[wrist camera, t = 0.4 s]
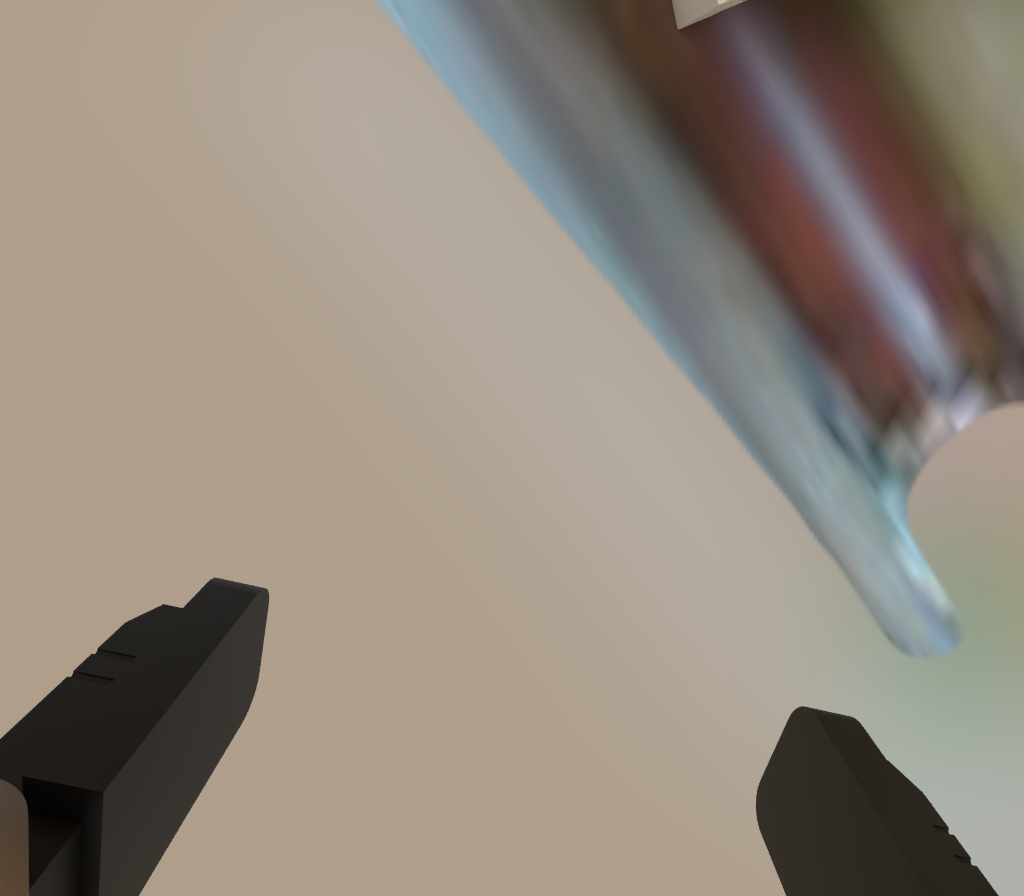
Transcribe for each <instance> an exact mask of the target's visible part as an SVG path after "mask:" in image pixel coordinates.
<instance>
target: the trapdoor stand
mask: <svg viewBox="0 0 1024 896" xmlns="http://www.w3.org/2000/svg"><path fill="white" fill-rule="evenodd" d="M744 1H746V0H672V4H673V9H674V14H675V19H676V24H677V29H678V30H679V29H682V28H684V27H686V26H689V25H691V24H694V23H696V22H698V21H701V20H703V19H705V18H708V17H710V16H712V15H714V14H716V13H718V12H720V11H723V10H725V9H728V8H730V7H732V6H735V5H737V4H739V3H742V2H744Z"/></svg>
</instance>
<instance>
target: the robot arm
mask: <svg viewBox="0 0 1024 896" xmlns="http://www.w3.org/2000/svg"><path fill="white" fill-rule="evenodd" d="M268 605H269V592H268V590H267V589H266V588H261V587H257V586H252V585H248V584H243V583H238V582H234V581H229V580H224V579H220V578H213V579H211V580H210V581H209V582H208V583H207V584H206V585H205V586H204V587H203V588H202V589H201V590H200V591H199V592H198V593H197V594H196V595H195V596H194V597H193V598H192V599H191V600H190V601H189V602H188V603H187V604H186V605H185V607H184V608H179V607H174V606H169V605H165V604H163V605H161V606H159V607H157V608H155V609H153V610H151V611H149V612H147V613H145V614H142V615H140V616H138V617H136V618H134V619H132V620H130V621H128V622H126V623H125V624H123V625H122V626H121V627H120V628H119V629H118V630H117V631H116V632H115V633H114V634H113V635H112V636H110V638H108V639H107V640H106V641H105V642H104V643H103V644H102V645H101V646H100V647H99V648H98V650H97V652H96V654H91V655H90V656H89V657H88V658H87V659H86V660H85V661H84V662H83V663H81V664H80V665H79V666H78V667H77V668H76V669H75V670H74V672H73V675H72V676H71V677H67V678H65V679H64V680H63V681H62V682H61V683H60V684H59V685H58V686H57V687H56V688H55V689H54V690H52V691H51V692H50V693H49V694H48V695H47V696H46V697H45V698H44V699H43V700H42V701H41V702H40V703H39V704H37V705H36V706H35V707H34V708H33V709H32V710H31V711H30V712H29V713H28V714H27V715H26V716H25V717H23V718H22V720H20V721H19V722H18V723H17V724H16V725H15V726H14V727H13V728H12V729H11V730H10V731H9V732H7V733H6V734H5V735H4V736H3V737H2V738H1V739H0V896H139V894H140V893H141V891H142V889H143V888H144V886H145V884H146V883H147V881H148V879H149V878H150V876H151V874H152V873H153V871H154V869H155V868H156V866H157V864H158V863H159V861H160V859H161V858H162V856H163V854H164V853H165V851H166V849H167V848H168V846H169V844H170V843H171V841H172V839H173V838H174V836H175V834H176V833H177V831H178V829H179V827H180V826H181V824H182V823H183V821H184V819H185V817H186V816H187V814H188V812H189V811H190V809H191V808H192V806H193V804H194V803H195V801H196V799H197V797H198V796H199V794H200V793H201V791H202V789H203V788H204V786H205V784H206V782H207V781H208V779H209V777H210V776H211V774H212V773H213V771H214V769H215V767H216V766H217V764H218V762H219V761H220V759H221V758H222V756H223V754H224V753H225V751H226V749H227V748H228V746H229V744H230V743H231V741H232V739H233V738H234V736H235V734H236V732H237V730H238V729H239V727H240V726H241V724H242V722H243V721H244V719H245V717H246V715H247V712H248V710H249V708H250V705H251V702H252V699H253V697H254V694H255V690H256V687H257V683H258V678H259V672H260V665H261V657H262V650H263V642H264V635H265V628H266V620H267V613H268ZM756 814H757V821H758V825H759V829H760V831H761V834H762V837H763V839H764V842H765V844H766V846H767V849H768V851H769V854H770V856H771V859H772V861H773V864H774V866H775V869H776V871H777V874H778V876H779V879H780V881H781V884H782V886H783V888H784V891H785V893H786V896H998V894H997V893H996V892H995V890H994V889H993V888H992V886H991V885H990V883H989V882H988V881H987V879H986V878H985V877H984V875H983V874H982V873H981V871H980V870H979V868H978V867H977V866H973V865H971V861H970V860H971V858H970V856H969V855H968V853H967V852H966V851H965V850H964V848H963V847H962V845H961V844H960V843H959V841H958V840H957V838H956V837H955V836H954V835H950V834H949V832H948V829H949V828H948V826H947V825H946V823H945V822H944V821H943V819H942V818H941V817H940V815H939V814H938V813H937V811H936V810H935V809H934V807H933V806H932V804H931V803H930V802H929V800H928V799H927V798H926V796H925V795H924V794H923V792H922V791H920V790H919V789H918V788H917V787H916V786H915V785H914V784H913V783H912V782H911V781H910V780H909V779H907V778H906V777H905V776H904V775H903V774H902V773H901V772H900V771H899V770H898V769H896V768H895V767H894V766H893V765H892V764H891V763H890V762H889V761H887V760H886V758H885V757H884V756H883V754H882V753H881V752H880V750H879V749H878V747H877V746H876V745H875V743H874V742H873V740H872V739H871V737H870V736H869V735H868V733H867V732H866V730H865V729H864V727H863V726H862V725H861V724H860V722H859V721H857V720H856V719H855V718H853V717H850V716H846V715H841V714H836V713H832V712H827V711H822V710H818V709H813V708H809V707H799V708H797V709H795V710H794V711H793V713H792V714H791V715H790V717H789V719H788V721H787V723H786V726H785V728H784V730H783V732H782V734H781V737H780V739H779V741H778V743H777V745H776V748H775V750H774V752H773V754H772V756H771V758H770V761H769V763H768V765H767V767H766V769H765V772H764V774H763V776H762V778H761V781H760V783H759V786H758V790H757V797H756Z"/></svg>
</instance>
